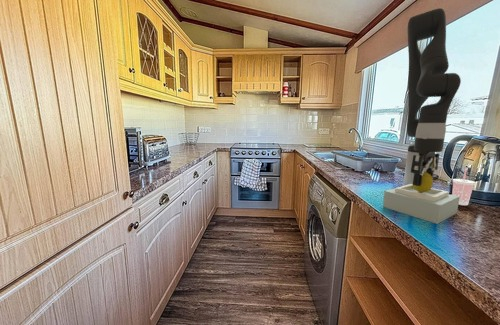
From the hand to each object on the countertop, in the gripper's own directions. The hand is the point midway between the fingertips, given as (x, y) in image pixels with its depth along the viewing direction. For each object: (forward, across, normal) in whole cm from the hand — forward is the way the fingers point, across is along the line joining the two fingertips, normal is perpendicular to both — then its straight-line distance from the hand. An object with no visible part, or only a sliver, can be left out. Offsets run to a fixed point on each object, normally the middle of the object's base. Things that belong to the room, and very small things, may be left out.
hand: (422, 183), depth 74 cm
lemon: (+4, 0, 0) cm, 4 cm away
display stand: (+10, 0, 0) cm, 10 cm away
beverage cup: (+10, -22, +5) cm, 25 cm away
